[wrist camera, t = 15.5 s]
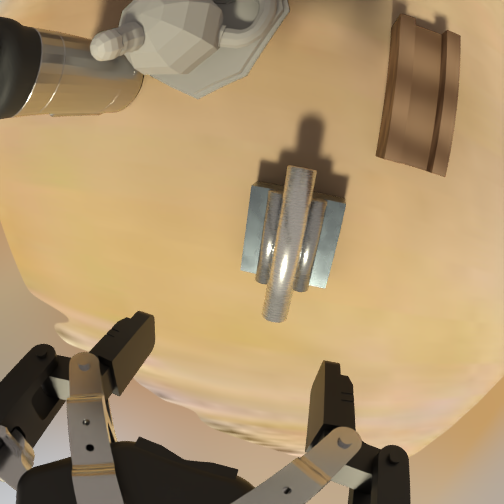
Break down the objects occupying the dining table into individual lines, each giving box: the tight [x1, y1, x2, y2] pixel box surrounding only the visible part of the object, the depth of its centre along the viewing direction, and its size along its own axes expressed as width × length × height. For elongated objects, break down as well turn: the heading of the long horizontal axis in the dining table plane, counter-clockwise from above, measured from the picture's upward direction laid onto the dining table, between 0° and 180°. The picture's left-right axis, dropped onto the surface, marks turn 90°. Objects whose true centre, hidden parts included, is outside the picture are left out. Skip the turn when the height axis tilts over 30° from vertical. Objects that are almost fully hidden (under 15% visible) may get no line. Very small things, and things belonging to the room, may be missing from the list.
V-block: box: [241, 181, 346, 292], centre depth 33 cm, size 10×10×5 cm
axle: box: [262, 165, 317, 322], centre depth 30 cm, size 16×3×3 cm, turn 172°
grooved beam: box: [376, 14, 460, 177], centre depth 24 cm, size 16×7×5 cm, turn 172°
